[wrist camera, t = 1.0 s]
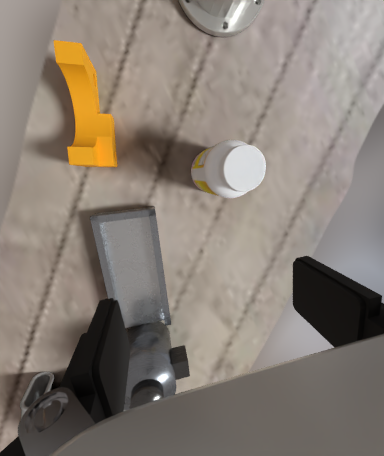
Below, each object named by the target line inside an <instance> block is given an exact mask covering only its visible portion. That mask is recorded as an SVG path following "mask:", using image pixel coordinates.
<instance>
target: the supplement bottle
mask: <svg viewBox="0 0 384 456" xmlns="http://www.w3.org/2000/svg"><path fill="white" fill-rule="evenodd" d="M265 171H266V163H265V159H264V156H263V154H262V153H261V152H260V150H258V149H257V148H256V147H254V146H252V145H248V144H246V143H244V142H242V141H239V140H227V141H223V142H221V143H219V144H217V145H215V146H212V147H210V148H208V149H206V150H204V151H202V152H201V153H200V154H198V155H197V157H196V158H195V159H194V161H193V163H192V167H191V176H192V179H193V182H194V183H195V185H196V186H197V187H198V188H199V189H200V190H202V191H204V192H207V193H211V194H214V195H218V196H221V197H225V198H235V197H239V196H241V195H243V194H245V193H246V192H248V191H250V190H252V189H254V188H256V187H257V186H258V185H259V184H260V183H261V181H262V180H263V178H264V175H265Z"/></svg>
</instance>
